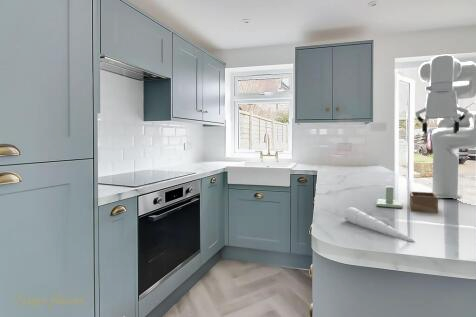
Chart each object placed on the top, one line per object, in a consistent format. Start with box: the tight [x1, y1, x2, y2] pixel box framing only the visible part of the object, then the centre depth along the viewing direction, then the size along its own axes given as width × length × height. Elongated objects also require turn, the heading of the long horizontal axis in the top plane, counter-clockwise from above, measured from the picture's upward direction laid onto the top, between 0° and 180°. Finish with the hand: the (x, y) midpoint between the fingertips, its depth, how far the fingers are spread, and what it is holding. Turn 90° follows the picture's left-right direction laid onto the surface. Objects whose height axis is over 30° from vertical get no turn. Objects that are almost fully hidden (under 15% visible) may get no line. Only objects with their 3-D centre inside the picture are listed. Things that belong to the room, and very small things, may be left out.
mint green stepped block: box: [376, 185, 403, 209], centre depth 119 cm, size 12×9×8 cm
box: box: [409, 191, 439, 214], centre depth 111 cm, size 11×8×6 cm
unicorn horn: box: [343, 206, 416, 243], centre depth 86 cm, size 5×24×5 cm, turn 17°
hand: (440, 133), depth 119 cm, fingers open, 9 cm apart
